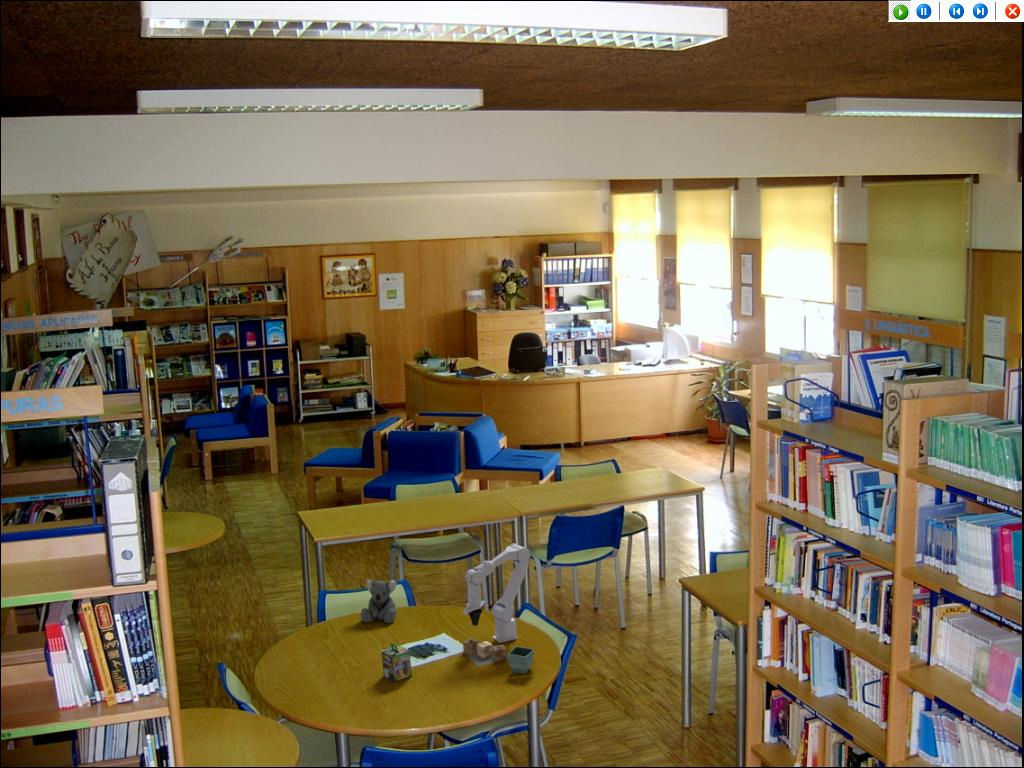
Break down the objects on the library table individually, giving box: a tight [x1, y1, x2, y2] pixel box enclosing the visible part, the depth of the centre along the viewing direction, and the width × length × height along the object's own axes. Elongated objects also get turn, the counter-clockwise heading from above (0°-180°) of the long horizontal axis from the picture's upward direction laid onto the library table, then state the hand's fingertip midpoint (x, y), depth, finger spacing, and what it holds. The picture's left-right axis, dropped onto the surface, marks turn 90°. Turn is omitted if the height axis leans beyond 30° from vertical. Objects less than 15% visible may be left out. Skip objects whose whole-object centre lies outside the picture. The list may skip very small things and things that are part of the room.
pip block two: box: [462, 638, 480, 655], centre depth 486 cm, size 5×5×5 cm
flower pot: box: [507, 646, 535, 674], centre depth 464 cm, size 9×9×9 cm
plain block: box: [477, 640, 493, 658], centre depth 482 cm, size 5×5×5 cm
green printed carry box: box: [381, 642, 413, 683], centre depth 464 cm, size 9×9×15 cm
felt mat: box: [462, 644, 509, 667], centre depth 482 cm, size 15×18×1 cm
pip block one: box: [493, 644, 507, 662], centre depth 477 cm, size 5×5×5 cm
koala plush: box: [360, 578, 397, 624], centre depth 532 cm, size 17×18×20 cm
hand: (475, 625), depth 491 cm, fingers closed
